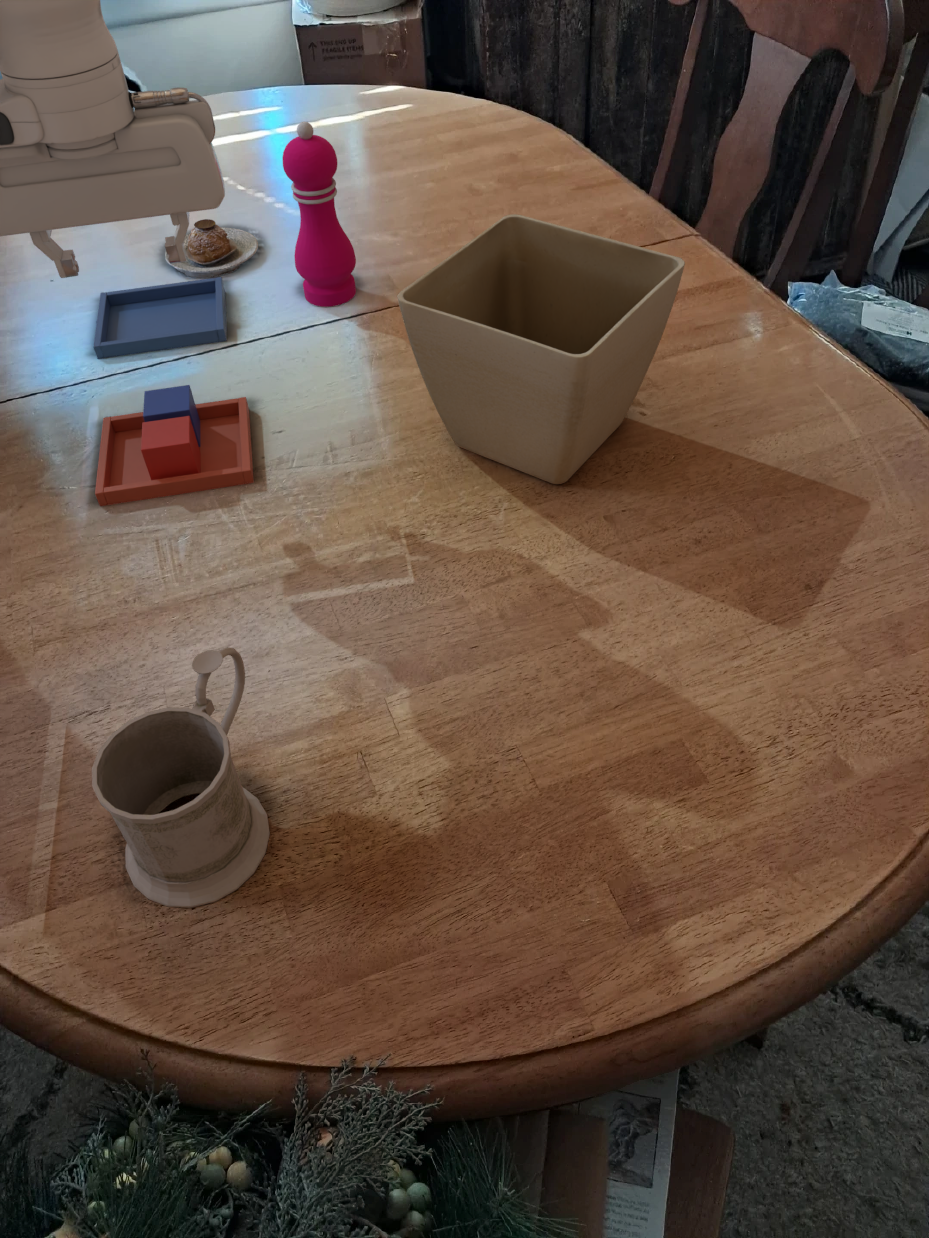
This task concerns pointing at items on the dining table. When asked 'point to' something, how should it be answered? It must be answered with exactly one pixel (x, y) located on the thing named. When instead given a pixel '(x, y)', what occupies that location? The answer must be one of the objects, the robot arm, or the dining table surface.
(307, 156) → the pepper mill
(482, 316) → the flower pot
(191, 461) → the red block
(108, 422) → the red tray
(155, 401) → the blue block
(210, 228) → the pastry
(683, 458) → the dining table surface
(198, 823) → the mug
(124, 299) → the blue tray
